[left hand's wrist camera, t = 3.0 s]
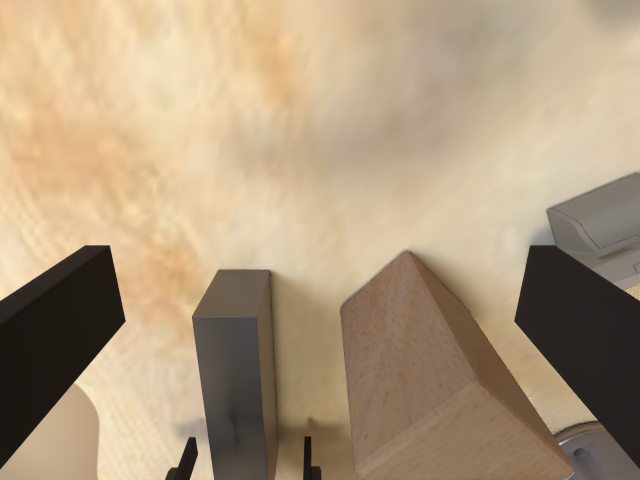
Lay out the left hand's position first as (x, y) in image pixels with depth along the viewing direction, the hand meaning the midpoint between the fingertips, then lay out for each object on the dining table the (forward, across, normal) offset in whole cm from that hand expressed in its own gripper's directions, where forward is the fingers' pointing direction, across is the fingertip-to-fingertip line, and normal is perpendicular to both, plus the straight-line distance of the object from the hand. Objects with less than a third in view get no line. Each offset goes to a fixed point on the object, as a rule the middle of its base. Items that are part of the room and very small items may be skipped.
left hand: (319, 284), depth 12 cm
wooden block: (+26, +9, -16) cm, 32 cm away
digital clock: (+26, +28, -7) cm, 39 cm away
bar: (+26, -8, -25) cm, 37 cm away
